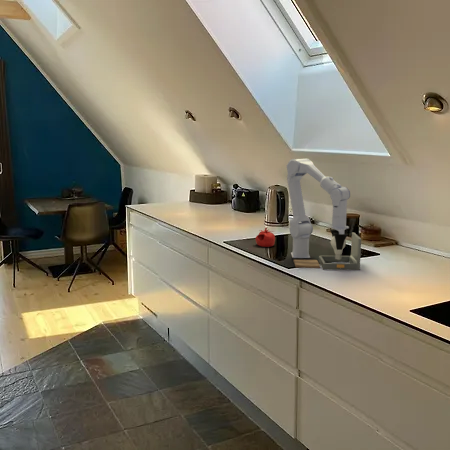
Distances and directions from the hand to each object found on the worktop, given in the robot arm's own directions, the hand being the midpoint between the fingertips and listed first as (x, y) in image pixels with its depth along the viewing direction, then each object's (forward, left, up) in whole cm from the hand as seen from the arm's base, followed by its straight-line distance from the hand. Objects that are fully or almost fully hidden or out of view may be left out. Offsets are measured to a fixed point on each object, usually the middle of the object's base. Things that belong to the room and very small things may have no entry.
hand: (337, 247), depth 230 cm
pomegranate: (-37, -29, -8) cm, 48 cm away
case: (0, 0, -8) cm, 8 cm away
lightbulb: (0, 0, -6) cm, 6 cm away
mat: (0, -13, -8) cm, 15 cm away
